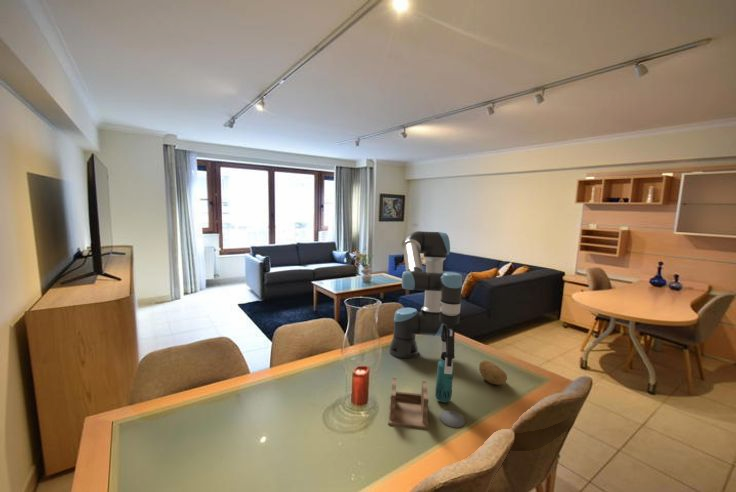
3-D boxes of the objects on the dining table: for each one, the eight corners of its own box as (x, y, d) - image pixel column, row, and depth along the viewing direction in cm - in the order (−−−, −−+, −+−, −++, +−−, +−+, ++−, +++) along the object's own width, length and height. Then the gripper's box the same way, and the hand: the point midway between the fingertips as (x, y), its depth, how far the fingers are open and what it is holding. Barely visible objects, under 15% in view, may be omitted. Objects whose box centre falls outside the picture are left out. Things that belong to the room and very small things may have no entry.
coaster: (438, 410, 122) (438, 409, 122) (462, 412, 121) (462, 411, 121) (440, 426, 113) (440, 424, 113) (466, 429, 112) (466, 427, 112)
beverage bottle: (432, 402, 127) (436, 354, 124) (437, 394, 133) (440, 348, 130) (449, 408, 124) (452, 358, 121) (453, 399, 130) (456, 352, 127)
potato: (494, 392, 136) (496, 374, 135) (473, 375, 149) (474, 359, 148) (512, 388, 140) (514, 371, 139) (489, 372, 153) (491, 356, 152)
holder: (390, 398, 129) (391, 375, 127) (425, 401, 127) (427, 378, 126) (388, 424, 113) (389, 398, 112) (428, 429, 111) (430, 403, 110)
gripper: (436, 303, 137) (433, 350, 139) (443, 322, 112) (439, 380, 114) (454, 304, 136) (451, 352, 138) (465, 324, 111) (461, 382, 113)
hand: (445, 365), depth 126 cm, fingers open, 13 cm apart
